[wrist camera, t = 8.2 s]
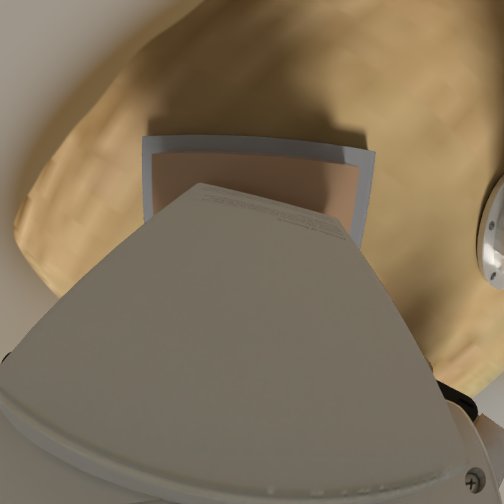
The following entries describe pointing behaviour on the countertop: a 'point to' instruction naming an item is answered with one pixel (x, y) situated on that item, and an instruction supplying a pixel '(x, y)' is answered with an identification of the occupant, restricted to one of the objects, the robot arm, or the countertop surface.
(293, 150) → the pedestal
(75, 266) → the countertop surface
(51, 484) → the robot arm
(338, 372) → the supplement box
